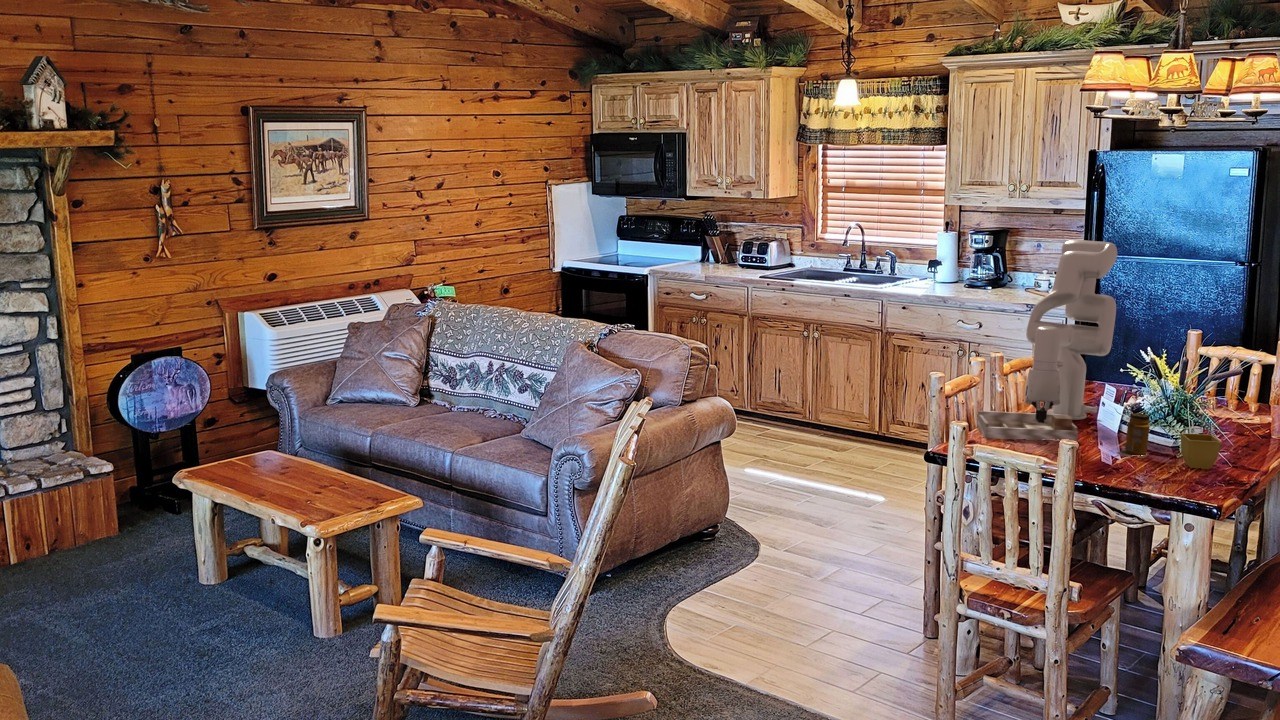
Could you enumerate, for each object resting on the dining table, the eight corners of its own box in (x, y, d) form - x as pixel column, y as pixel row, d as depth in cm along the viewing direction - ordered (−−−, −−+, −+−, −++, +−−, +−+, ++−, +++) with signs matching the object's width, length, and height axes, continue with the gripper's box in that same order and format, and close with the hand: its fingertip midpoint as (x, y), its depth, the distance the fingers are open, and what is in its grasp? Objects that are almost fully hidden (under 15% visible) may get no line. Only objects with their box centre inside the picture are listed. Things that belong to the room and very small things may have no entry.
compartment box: (1065, 431, 364) (1066, 414, 363) (1076, 442, 351) (1078, 425, 350) (976, 427, 367) (978, 410, 366) (985, 437, 354) (986, 421, 352)
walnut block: (1067, 427, 359) (1068, 415, 358) (1070, 431, 354) (1072, 419, 353) (1050, 426, 359) (1052, 414, 359) (1054, 430, 355) (1055, 418, 354)
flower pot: (1176, 462, 331) (1180, 432, 330) (1208, 464, 330) (1212, 434, 328) (1185, 470, 323) (1189, 440, 321) (1218, 472, 321) (1222, 442, 320)
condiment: (1151, 453, 340) (1156, 415, 338) (1140, 458, 334) (1144, 419, 332) (1127, 448, 345) (1131, 410, 343) (1115, 453, 339) (1119, 414, 337)
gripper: (1066, 363, 357) (1061, 419, 361) (1018, 362, 359) (1013, 417, 363) (1073, 368, 350) (1067, 425, 354) (1023, 367, 351) (1018, 424, 355)
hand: (1040, 421), depth 358 cm, fingers closed
